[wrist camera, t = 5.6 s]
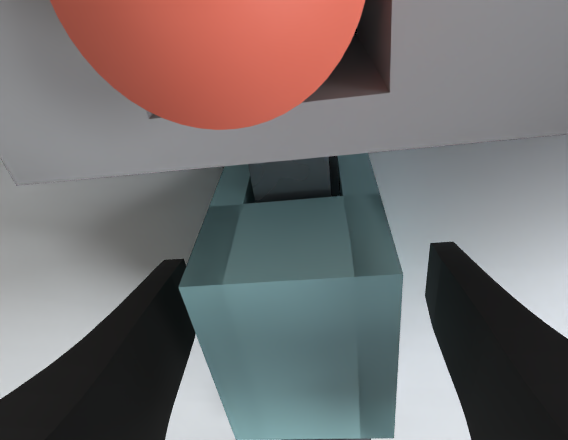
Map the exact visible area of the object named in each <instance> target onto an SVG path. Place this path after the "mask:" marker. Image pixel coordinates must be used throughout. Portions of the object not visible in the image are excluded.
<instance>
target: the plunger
mask: <svg viewBox="0 0 568 440" xmlns="http://www.w3.org/2000/svg"><path fill="white" fill-rule="evenodd" d="M50 2H51V4H52V6H53V8H54V10H55V13H56V15H57V17H58V19H59V20H60V22H61V24H62V25H63V27H64V29H65V31H66V32H67V34H68V36H69V37H70V39H71V40H72V42H73V43H74V44H75V46H76V47H77V49H78V50H79V51H80V53H81V54H82V56H83V57H84V58H85V59H86V60H87V61H88V63H89V64H90V65H91V66H92V67H93V68H94V69H95V71H96V72H97V73H98V74H99V75H100V76H101V77H102V78H103V79H105V80H106V81H107V82H108V83H109V84H110V85H111V86H112V87H113V88H114V89H116V90H117V91H118V92H120V93H121V94H122V95H123V96H125V97H126V98H127V99H129V100H130V101H132V102H133V103H135V104H137V105H138V106H140V107H142V108H143V109H145V110H147V111H149V112H151V113H153V114H155V115H157V116H159V117H161V118H164V119H166V120H169V121H172V122H175V123H178V124H181V125H186V126H190V127H195V128H200V129H212V130H228V129H239V128H245V127H251V126H254V125H257V124H261V123H264V122H267V121H270V120H272V119H274V118H276V117H279V116H281V115H283V114H285V113H286V112H288V111H290V110H291V109H293V108H294V107H296V106H298V105H299V104H301V103H302V102H303V101H304V100H305V99H307V98H308V97H309V96H310V95H312V94H313V93H314V92H315V91H316V90H317V89H318V88H319V87H320V86H321V85H322V84H323V82H324V81H325V80H326V79H327V78H328V77H329V76H330V74H331V73H332V71H333V70H334V69H335V67H336V66H337V65H338V63H339V62H340V60H341V59H342V57H343V55H344V53H345V51H346V50H347V48H348V46H349V44H350V42H351V40H352V38H353V35H354V33H355V31H356V28H357V26H358V23H359V21H360V17H361V14H362V10H363V7H364V3H365V0H50Z"/></svg>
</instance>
